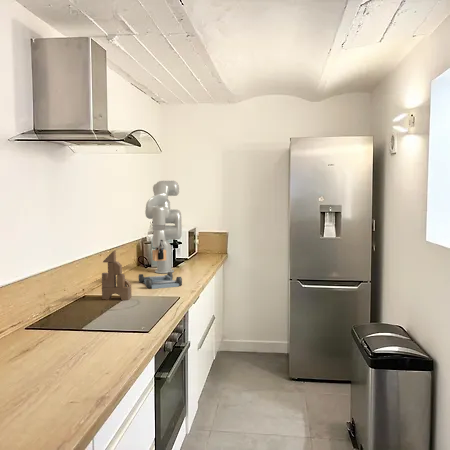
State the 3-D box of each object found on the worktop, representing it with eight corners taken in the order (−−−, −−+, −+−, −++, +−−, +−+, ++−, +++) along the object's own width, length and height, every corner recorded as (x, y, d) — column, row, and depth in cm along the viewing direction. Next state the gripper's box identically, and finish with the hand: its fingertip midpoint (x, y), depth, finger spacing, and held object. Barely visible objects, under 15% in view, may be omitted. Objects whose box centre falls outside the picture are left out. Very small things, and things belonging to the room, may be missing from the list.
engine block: (152, 260, 278) (152, 249, 278) (164, 259, 281) (163, 249, 280) (154, 261, 273) (154, 250, 273) (166, 260, 276) (166, 250, 276)
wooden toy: (132, 297, 244) (131, 249, 242) (128, 300, 237) (127, 251, 235) (103, 296, 246) (102, 249, 244) (98, 299, 239) (97, 250, 237)
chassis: (138, 281, 285) (138, 273, 285) (170, 279, 293) (170, 271, 293) (148, 289, 263) (148, 280, 263) (182, 286, 271) (182, 277, 271)
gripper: (149, 227, 282) (149, 257, 283) (156, 229, 267) (157, 260, 268) (161, 226, 285) (161, 256, 286) (169, 228, 270) (169, 260, 271)
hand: (159, 258), depth 277 cm, fingers closed on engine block, 5 cm apart
